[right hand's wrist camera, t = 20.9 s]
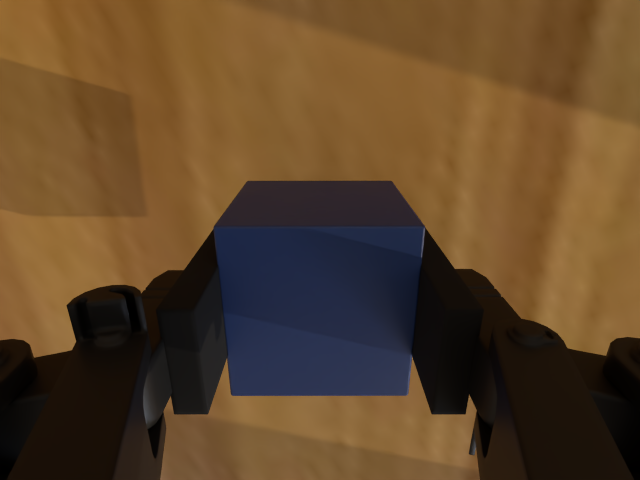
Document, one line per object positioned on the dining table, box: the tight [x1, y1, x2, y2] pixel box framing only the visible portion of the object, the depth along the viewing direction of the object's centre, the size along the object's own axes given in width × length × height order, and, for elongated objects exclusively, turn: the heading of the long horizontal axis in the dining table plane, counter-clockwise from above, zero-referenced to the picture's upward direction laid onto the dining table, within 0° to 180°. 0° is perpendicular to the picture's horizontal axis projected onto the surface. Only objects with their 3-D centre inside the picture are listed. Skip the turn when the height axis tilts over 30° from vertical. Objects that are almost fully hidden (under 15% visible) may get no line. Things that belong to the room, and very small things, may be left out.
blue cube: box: [213, 181, 425, 396], centre depth 12 cm, size 5×5×5 cm
